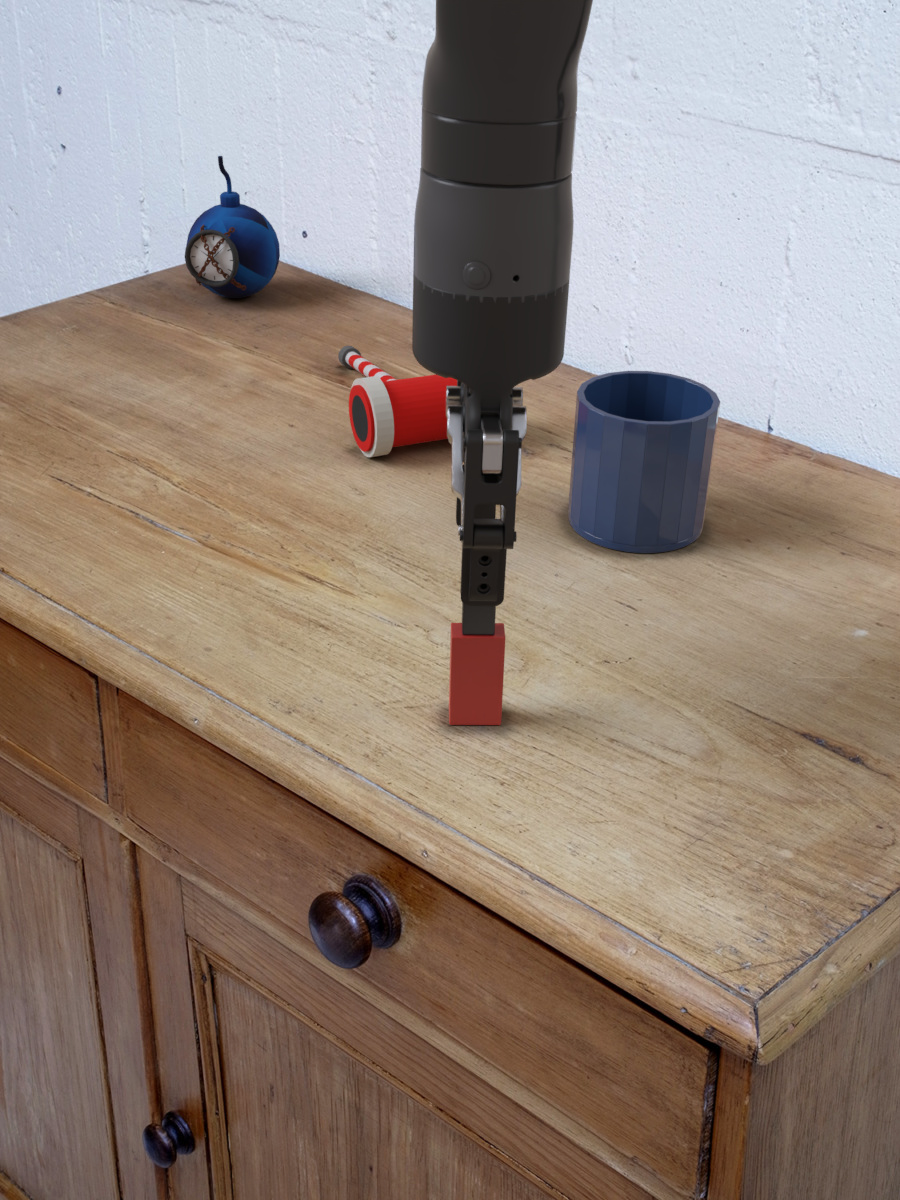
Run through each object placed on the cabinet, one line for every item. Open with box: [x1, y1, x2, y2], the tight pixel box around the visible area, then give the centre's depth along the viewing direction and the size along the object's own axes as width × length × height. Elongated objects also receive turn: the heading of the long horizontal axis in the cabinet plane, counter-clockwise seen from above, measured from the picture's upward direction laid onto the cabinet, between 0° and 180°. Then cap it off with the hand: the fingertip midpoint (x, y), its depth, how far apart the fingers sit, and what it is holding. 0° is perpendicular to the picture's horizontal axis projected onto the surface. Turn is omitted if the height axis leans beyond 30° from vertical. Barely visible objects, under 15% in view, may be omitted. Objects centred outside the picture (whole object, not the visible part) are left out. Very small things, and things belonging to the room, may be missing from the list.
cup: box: [567, 370, 721, 554], centre depth 96 cm, size 10×10×10 cm
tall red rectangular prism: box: [448, 602, 507, 726], centre depth 74 cm, size 3×2×9 cm, turn 91°
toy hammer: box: [337, 345, 457, 458], centre depth 114 cm, size 23×12×6 cm, turn 24°
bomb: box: [184, 155, 281, 299], centre depth 138 cm, size 10×11×15 cm
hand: (478, 562), depth 71 cm, fingers open, 8 cm apart
